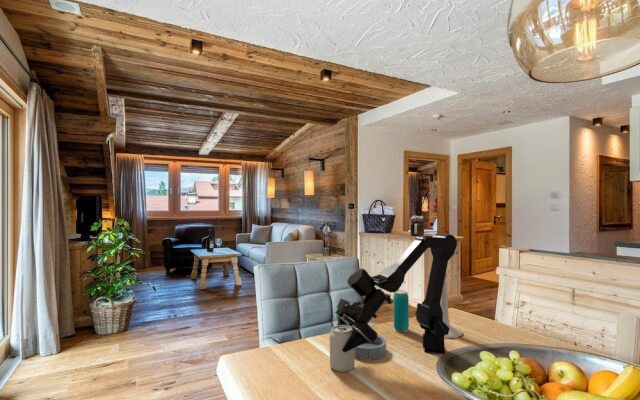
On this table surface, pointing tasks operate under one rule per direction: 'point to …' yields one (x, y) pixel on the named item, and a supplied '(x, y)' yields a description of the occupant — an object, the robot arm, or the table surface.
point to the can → (337, 341)
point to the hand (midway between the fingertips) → (337, 346)
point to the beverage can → (401, 311)
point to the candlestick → (453, 330)
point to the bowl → (371, 349)
